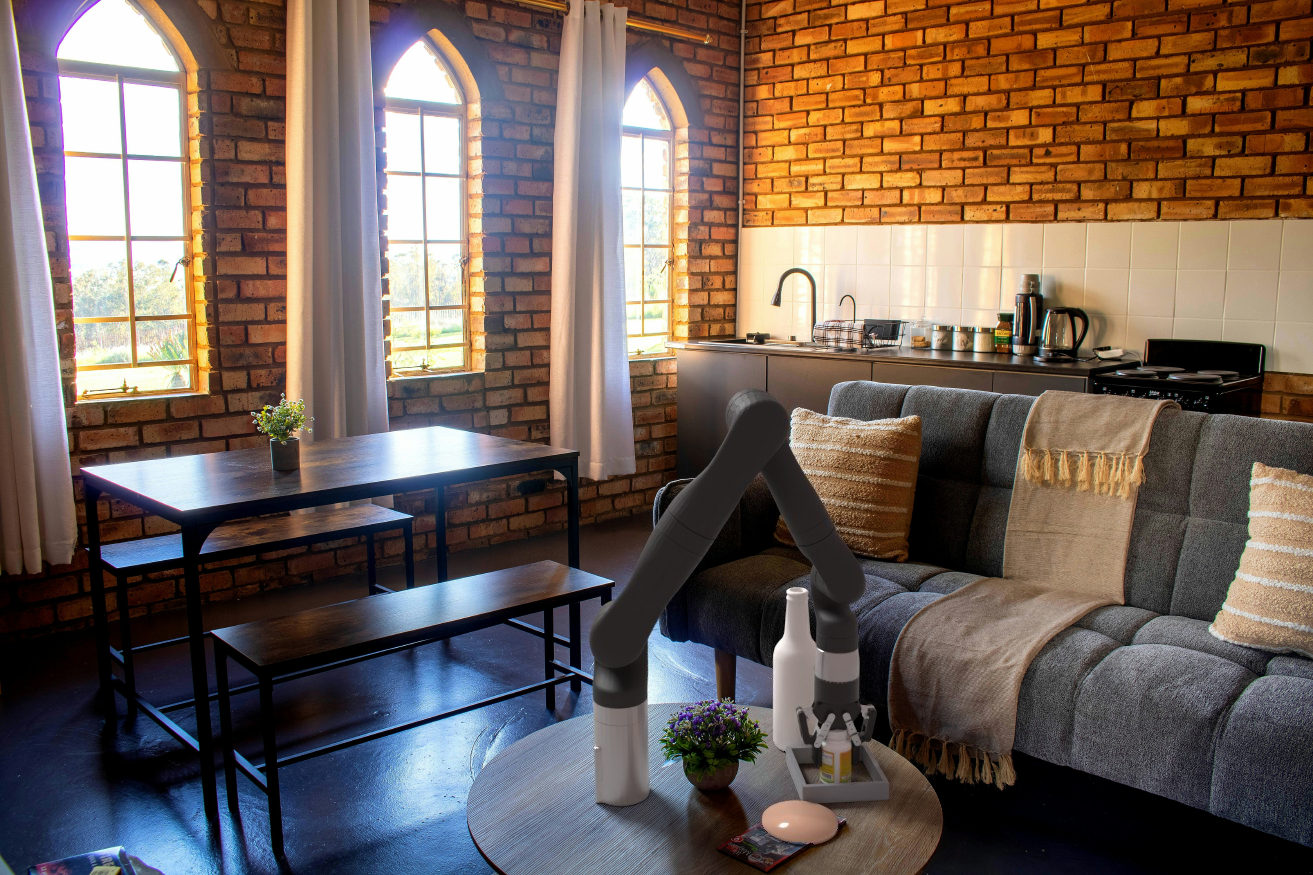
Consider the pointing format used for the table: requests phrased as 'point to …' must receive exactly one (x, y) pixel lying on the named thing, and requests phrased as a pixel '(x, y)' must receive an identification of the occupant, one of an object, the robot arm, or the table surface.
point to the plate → (800, 822)
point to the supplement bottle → (836, 757)
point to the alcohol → (793, 672)
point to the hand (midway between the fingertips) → (835, 763)
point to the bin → (837, 791)
